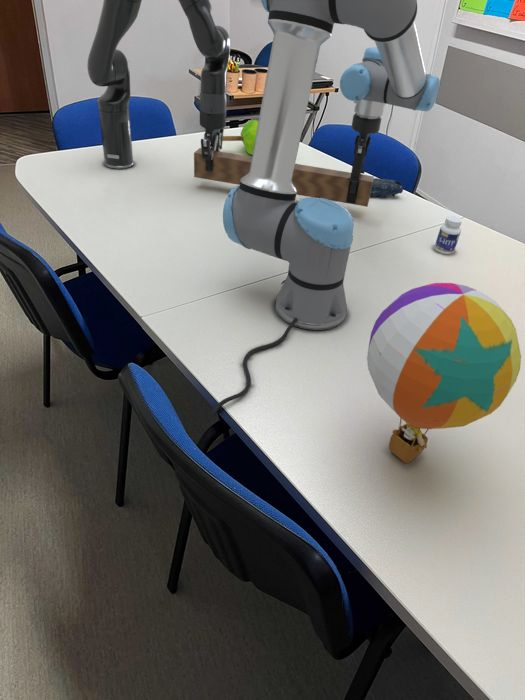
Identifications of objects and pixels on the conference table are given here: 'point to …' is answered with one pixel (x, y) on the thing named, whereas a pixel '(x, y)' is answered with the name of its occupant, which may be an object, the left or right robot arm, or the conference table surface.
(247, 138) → the decorative tree
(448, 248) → the pill bottle
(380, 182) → the fish model
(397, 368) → the toy
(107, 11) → the left robot arm
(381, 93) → the right robot arm
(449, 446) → the conference table surface
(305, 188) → the post
